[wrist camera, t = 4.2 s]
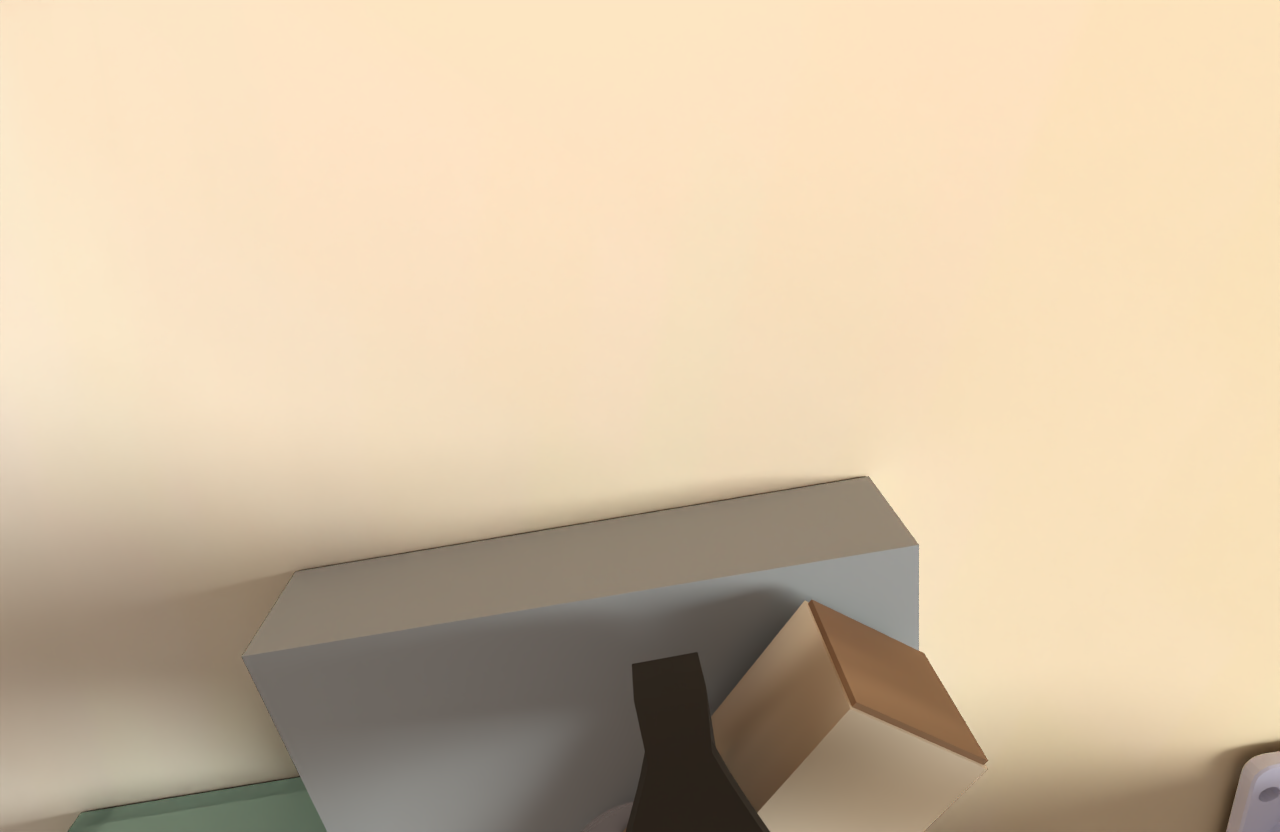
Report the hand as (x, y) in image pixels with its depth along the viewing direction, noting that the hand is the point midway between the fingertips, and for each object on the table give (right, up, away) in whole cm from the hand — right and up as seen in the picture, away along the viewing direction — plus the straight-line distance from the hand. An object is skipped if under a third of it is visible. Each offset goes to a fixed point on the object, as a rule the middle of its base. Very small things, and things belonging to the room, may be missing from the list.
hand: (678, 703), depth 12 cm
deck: (0, -5, +6) cm, 8 cm away
